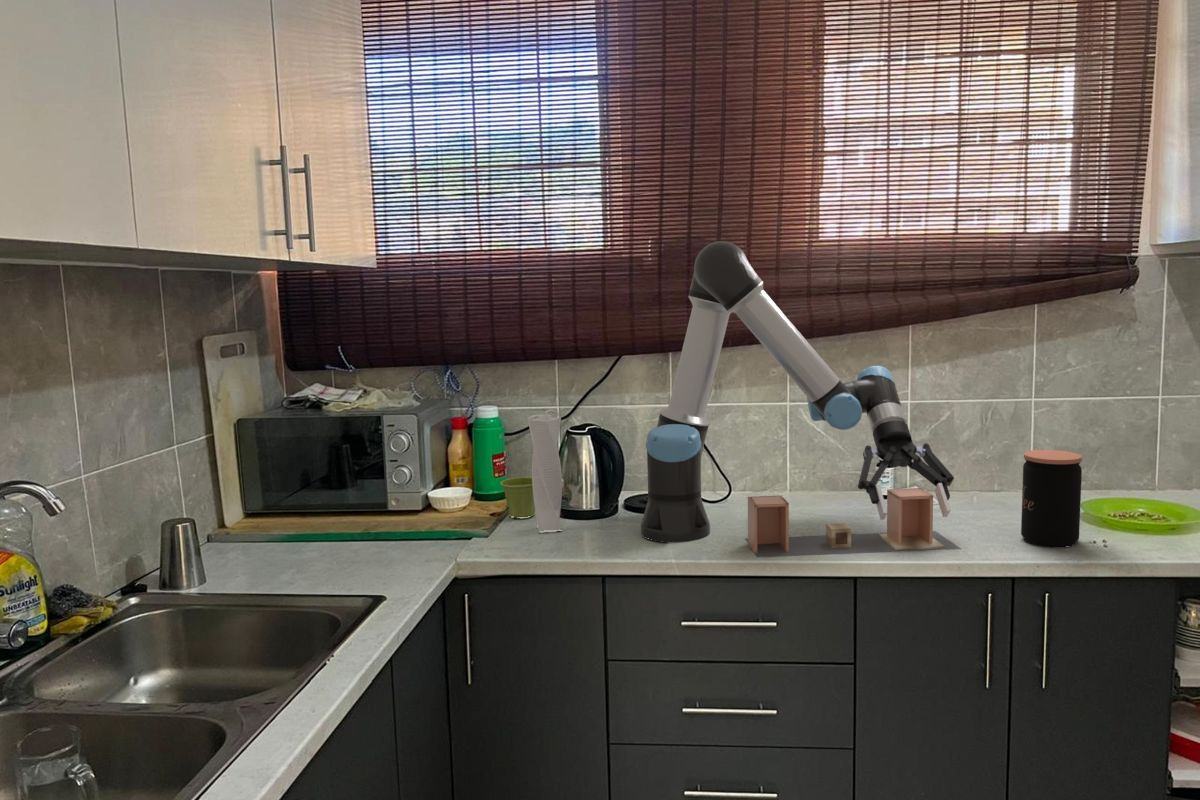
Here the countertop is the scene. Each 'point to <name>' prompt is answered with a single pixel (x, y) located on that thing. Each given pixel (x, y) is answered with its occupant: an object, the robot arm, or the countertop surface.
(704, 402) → the robot arm
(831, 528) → the letter cube
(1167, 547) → the countertop surface
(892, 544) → the coaster
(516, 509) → the plant pot
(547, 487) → the skyscraper
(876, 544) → the mat
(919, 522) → the cover
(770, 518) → the cover
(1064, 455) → the coffee jar
